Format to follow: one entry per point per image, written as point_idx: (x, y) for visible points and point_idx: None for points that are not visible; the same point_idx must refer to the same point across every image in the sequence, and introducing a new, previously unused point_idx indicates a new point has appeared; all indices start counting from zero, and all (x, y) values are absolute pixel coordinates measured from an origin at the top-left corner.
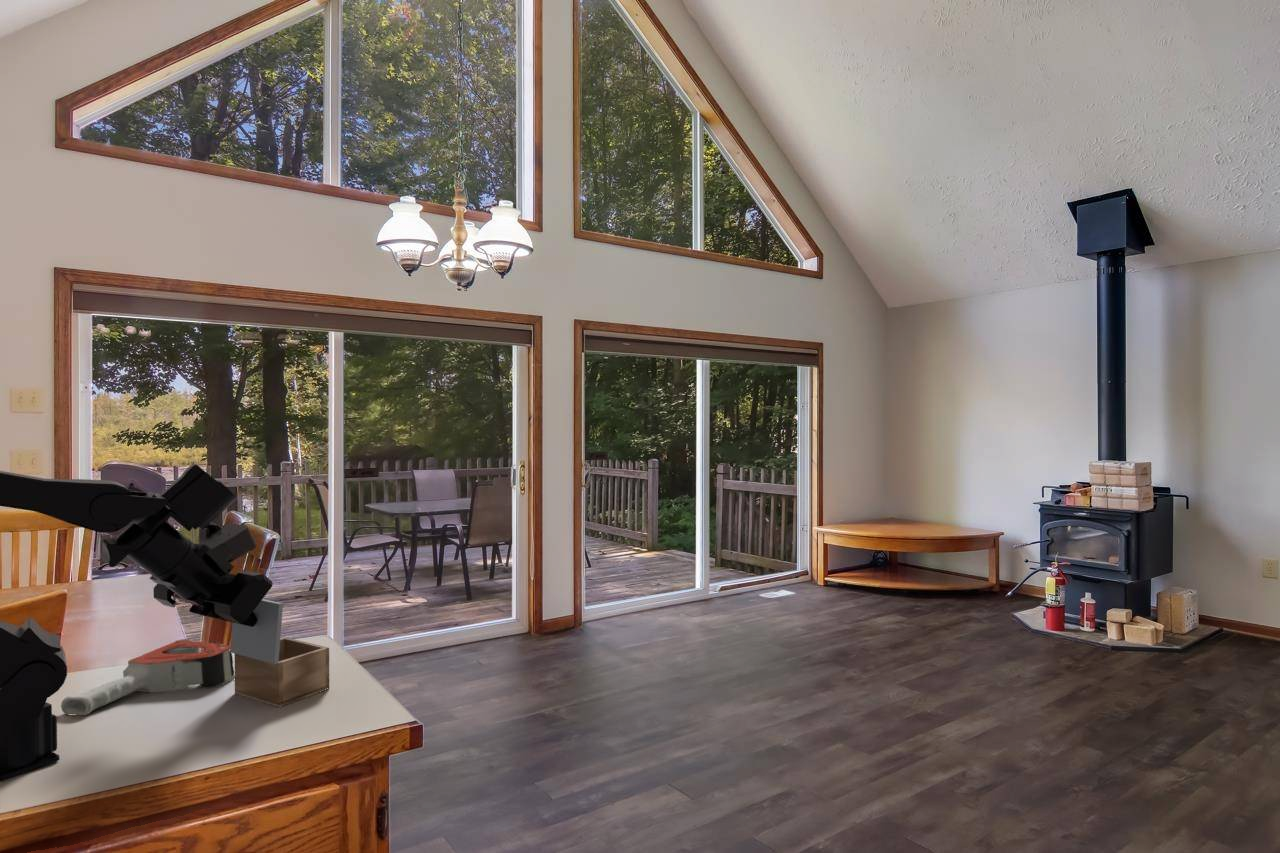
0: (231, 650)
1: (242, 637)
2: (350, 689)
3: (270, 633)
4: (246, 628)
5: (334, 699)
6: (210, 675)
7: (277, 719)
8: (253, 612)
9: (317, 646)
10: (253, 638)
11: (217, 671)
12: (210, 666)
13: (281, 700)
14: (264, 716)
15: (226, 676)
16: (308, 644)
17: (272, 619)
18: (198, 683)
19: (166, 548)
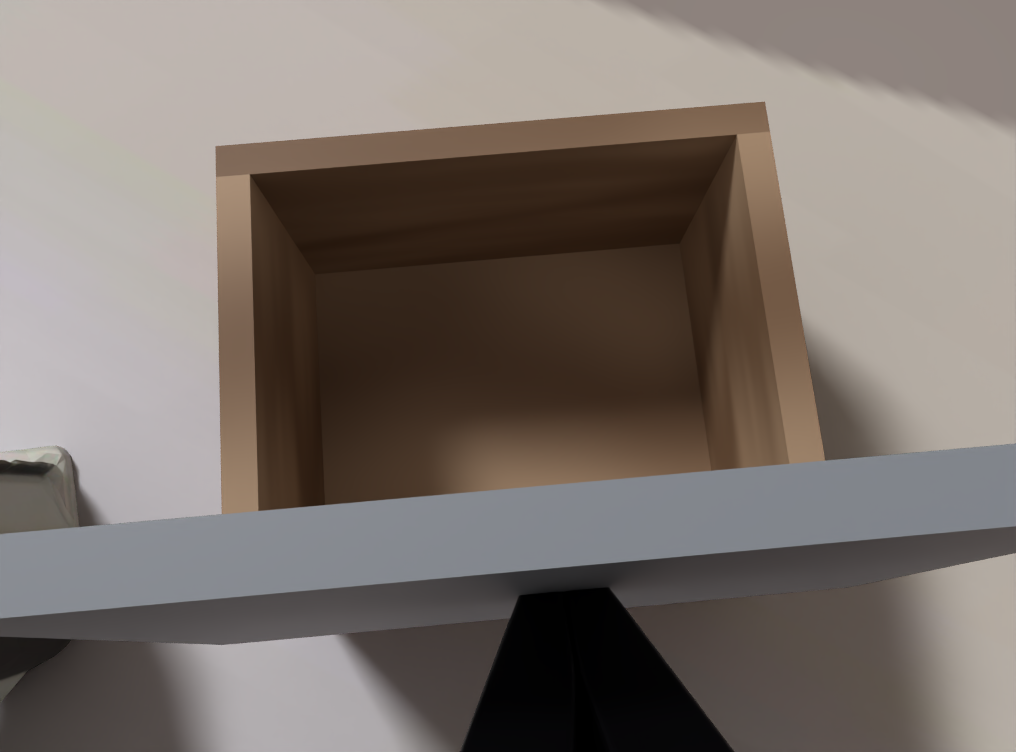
0: (236, 643)
1: (358, 624)
2: (790, 164)
3: (855, 573)
4: (401, 614)
5: (866, 299)
6: (42, 642)
7: (911, 657)
8: (680, 685)
9: (663, 135)
10: None
11: None
12: (6, 646)
13: None
14: (809, 679)
15: (54, 519)
16: (559, 147)
17: (950, 554)
18: (8, 692)
19: None
